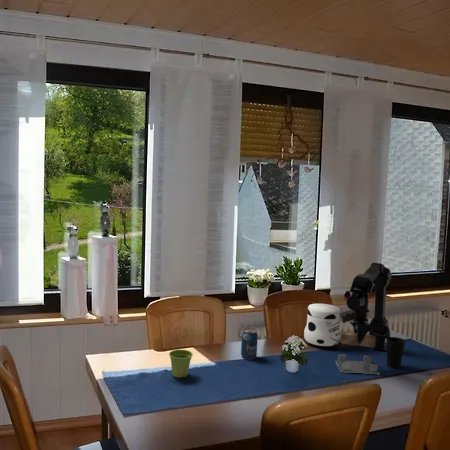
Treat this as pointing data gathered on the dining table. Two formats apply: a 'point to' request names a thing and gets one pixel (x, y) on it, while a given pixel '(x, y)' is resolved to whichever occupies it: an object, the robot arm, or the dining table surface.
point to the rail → (352, 339)
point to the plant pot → (180, 362)
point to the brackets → (357, 365)
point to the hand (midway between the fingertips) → (357, 341)
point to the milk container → (322, 325)
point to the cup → (394, 351)
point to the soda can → (249, 344)
